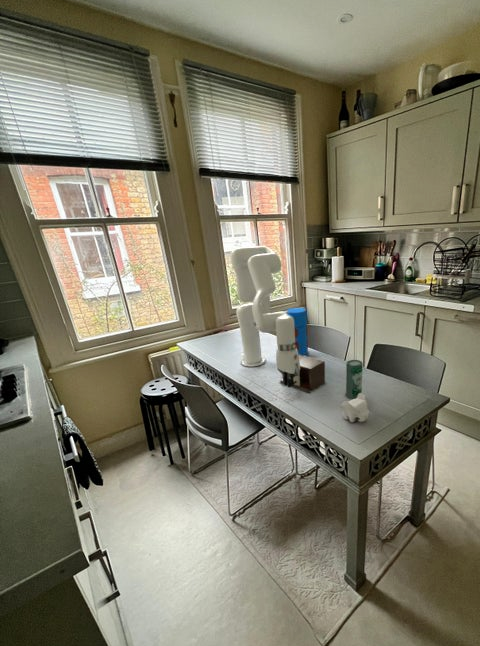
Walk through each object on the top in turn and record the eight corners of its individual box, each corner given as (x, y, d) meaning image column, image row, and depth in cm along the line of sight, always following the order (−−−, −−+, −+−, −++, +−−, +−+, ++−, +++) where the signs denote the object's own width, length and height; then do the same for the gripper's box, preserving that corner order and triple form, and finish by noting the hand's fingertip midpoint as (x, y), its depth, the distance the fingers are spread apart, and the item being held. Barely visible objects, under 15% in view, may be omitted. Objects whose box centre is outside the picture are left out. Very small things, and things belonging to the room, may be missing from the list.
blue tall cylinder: (306, 357, 175) (304, 312, 165) (287, 356, 177) (284, 312, 167) (309, 350, 185) (308, 307, 174) (291, 349, 187) (289, 307, 177)
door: (279, 386, 142) (277, 368, 138) (288, 381, 146) (286, 363, 142) (291, 391, 137) (290, 372, 133) (300, 385, 141) (299, 367, 137)
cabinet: (280, 383, 147) (278, 361, 143) (296, 374, 155) (295, 353, 151) (309, 393, 137) (308, 370, 132) (325, 383, 145) (324, 361, 141)
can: (357, 400, 130) (358, 366, 124) (344, 396, 133) (344, 364, 127) (363, 393, 135) (364, 361, 128) (349, 390, 138) (350, 358, 131)
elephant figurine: (360, 430, 110) (361, 409, 107) (335, 417, 119) (335, 397, 115) (376, 419, 116) (378, 398, 113) (351, 408, 124) (351, 388, 121)
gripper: (306, 346, 128) (308, 387, 136) (278, 340, 138) (281, 377, 145) (294, 352, 123) (297, 393, 131) (266, 345, 132) (270, 384, 140)
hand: (289, 385), depth 138 cm, fingers closed
